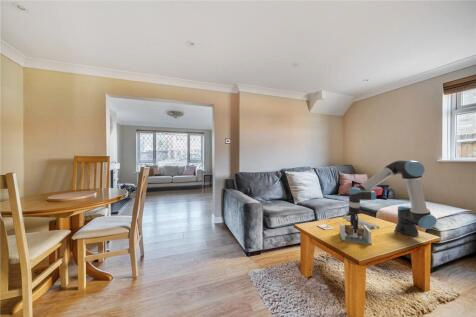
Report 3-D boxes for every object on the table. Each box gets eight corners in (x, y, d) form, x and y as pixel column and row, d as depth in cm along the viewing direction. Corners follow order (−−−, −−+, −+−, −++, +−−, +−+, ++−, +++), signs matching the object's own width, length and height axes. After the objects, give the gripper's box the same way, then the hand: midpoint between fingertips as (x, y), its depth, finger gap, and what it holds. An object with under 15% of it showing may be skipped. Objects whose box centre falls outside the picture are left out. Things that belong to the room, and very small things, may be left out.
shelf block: (360, 233, 151) (360, 225, 151) (363, 236, 145) (363, 228, 145) (344, 231, 154) (344, 224, 154) (347, 235, 148) (347, 227, 148)
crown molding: (379, 228, 171) (379, 224, 171) (369, 230, 168) (369, 226, 168) (350, 217, 201) (350, 214, 201) (341, 218, 198) (341, 215, 198)
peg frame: (365, 236, 153) (366, 225, 153) (371, 244, 140) (371, 231, 139) (338, 233, 160) (339, 222, 159) (342, 240, 146) (342, 228, 146)
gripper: (346, 203, 159) (345, 229, 160) (352, 209, 141) (351, 239, 142) (356, 204, 157) (355, 230, 157) (363, 210, 139) (362, 240, 139)
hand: (353, 234), depth 150 cm, fingers closed on shelf block, 6 cm apart
